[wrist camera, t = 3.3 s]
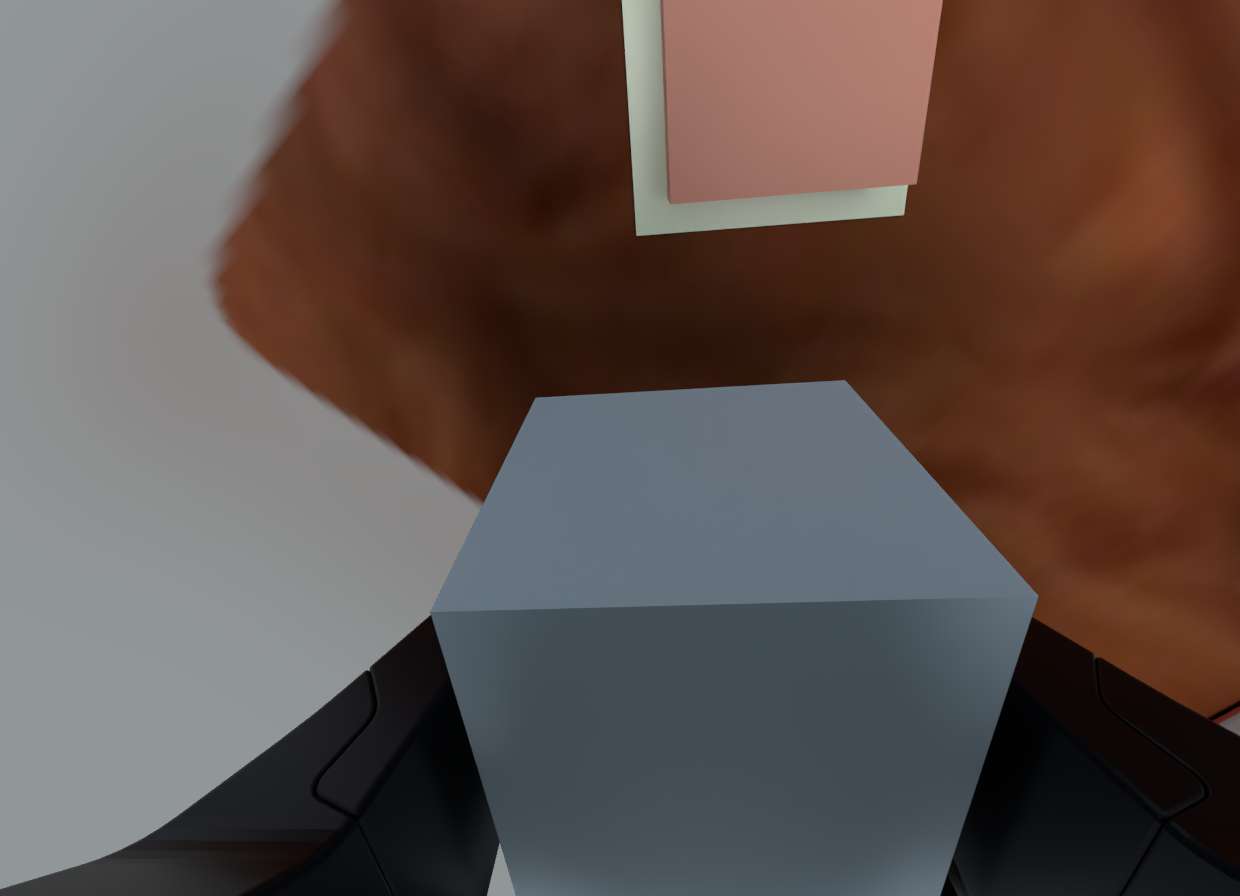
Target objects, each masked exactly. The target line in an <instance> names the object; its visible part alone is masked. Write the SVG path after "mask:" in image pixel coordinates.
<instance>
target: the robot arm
mask: <svg viewBox="0 0 1240 896" xmlns="http://www.w3.org/2000/svg"><path fill="white" fill-rule="evenodd" d="M499 843H500V841H499V838H498V834H497V831H496V828H495V824H494V821H493V818H492V814H491V811H490V808H489V805H488V801H487V798H486V795H485V791H484V788H483V785H482V781H481V778H480V775H479V772H478V768H477V765H476V762H475V758H474V755H473V752H472V748H471V745H470V742H469V739H468V735H467V732H466V729H465V725H464V722H463V719H462V715H461V712H460V709H459V705H458V702H457V699H456V696H455V692H454V689H453V686H452V682H451V679H450V676H449V672H448V669H447V666H446V663H445V659H444V656H443V653H442V649H441V646H440V643H439V639H438V636H437V633H436V630H435V626H434V623H433V620H432V616H431V615H430V616H429V617H428V618H427V619H426V620H424V621H423V622H422V623H421V624H420V625H419V626H417V627H416V628H415V629H414V630H413V631H411V632H410V633H409V634H408V635H407V636H406V637H405V638H403V639H402V640H401V641H400V642H399V643H397V644H396V645H395V646H394V647H393V648H392V649H390V650H389V651H388V652H387V653H386V654H385V655H383V656H382V657H381V658H380V659H379V660H378V661H377V662H375V663H374V664H373V665H372V666H371V667H370V671H368V670H367V671H365V672H363V673H362V674H361V675H360V676H359V677H358V678H356V679H355V680H354V681H353V682H352V683H351V684H349V685H348V686H347V687H346V688H345V689H344V690H342V691H341V692H340V693H339V694H337V695H336V696H335V697H334V698H333V699H332V700H330V701H329V702H328V703H327V704H325V705H324V706H323V707H322V708H321V709H319V710H318V711H317V712H316V713H315V714H313V715H312V716H311V717H310V718H308V719H307V720H305V721H304V722H303V723H302V724H300V725H299V726H298V727H296V728H295V729H294V730H292V731H291V732H290V733H288V734H287V735H286V736H285V737H283V738H282V739H281V740H279V741H278V742H277V743H275V744H274V745H273V746H271V747H270V748H269V749H267V750H266V751H265V752H263V753H262V754H260V755H259V756H258V757H256V758H255V759H254V760H252V761H251V762H250V763H248V764H247V765H246V766H244V767H243V768H242V769H240V770H239V771H238V772H236V773H235V774H233V775H232V776H231V777H229V778H228V779H227V780H225V781H224V782H223V783H221V784H220V785H219V786H217V787H216V788H215V789H213V790H212V791H211V792H209V793H208V794H206V795H205V796H204V797H202V798H201V799H200V800H198V801H197V802H196V803H194V804H193V805H192V806H190V807H189V808H188V809H186V810H185V811H183V812H182V813H181V814H179V815H178V816H177V817H175V818H174V819H172V820H171V821H169V822H168V823H167V824H165V825H164V826H162V827H161V828H159V829H158V830H156V831H154V832H153V833H151V834H149V835H148V836H146V837H145V838H143V839H141V840H139V841H137V842H135V843H134V844H131V845H129V846H127V847H125V848H123V849H121V850H119V851H117V852H115V853H112V854H110V855H108V856H105V857H102V858H100V859H97V860H94V861H91V862H89V863H86V864H82V865H80V866H76V867H73V868H69V869H66V870H63V871H59V872H56V873H53V874H49V875H46V876H43V877H39V878H36V879H33V880H29V881H26V882H23V883H19V884H16V885H13V886H9V887H6V888H3V889H0V896H487V893H488V888H489V884H490V880H491V876H492V872H493V868H494V864H495V859H496V855H497V851H498V847H499ZM940 896H1240V736H1239V735H1238V734H1236V733H1234V732H1232V731H1230V730H1228V729H1226V728H1224V727H1223V726H1221V725H1219V724H1217V723H1215V722H1213V721H1211V720H1210V719H1208V718H1206V717H1204V716H1202V715H1200V714H1198V713H1197V712H1195V711H1193V710H1191V709H1189V708H1187V707H1185V706H1184V705H1182V704H1180V703H1178V702H1176V701H1175V700H1173V699H1171V698H1169V697H1168V696H1166V695H1164V694H1162V693H1161V692H1159V691H1157V690H1156V689H1154V688H1152V687H1150V686H1149V685H1147V684H1145V683H1143V682H1142V681H1140V680H1138V679H1136V678H1135V677H1133V676H1131V675H1129V674H1128V673H1126V672H1124V671H1123V670H1121V669H1119V668H1118V667H1116V666H1114V665H1113V664H1111V663H1109V662H1108V661H1106V660H1104V659H1103V658H1100V657H1098V658H1096V659H1095V655H1094V654H1093V653H1092V652H1090V651H1089V650H1087V649H1085V648H1084V647H1082V646H1080V645H1079V644H1077V643H1075V642H1074V641H1072V640H1070V639H1069V638H1067V637H1065V636H1063V635H1062V634H1060V633H1058V632H1057V631H1055V630H1053V629H1052V628H1050V627H1048V626H1047V625H1045V624H1043V623H1042V622H1040V621H1038V620H1036V619H1035V618H1033V617H1032V618H1031V621H1030V624H1029V627H1028V630H1027V633H1026V636H1025V639H1024V642H1023V645H1022V648H1021V651H1020V654H1019V657H1018V660H1017V663H1016V666H1015V669H1014V672H1013V675H1012V678H1011V681H1010V684H1009V688H1008V691H1007V694H1006V697H1005V700H1004V703H1003V706H1002V709H1001V712H1000V715H999V718H998V721H997V724H996V727H995V730H994V733H993V736H992V739H991V742H990V745H989V748H988V751H987V755H986V758H985V761H984V764H983V767H982V770H981V773H980V776H979V779H978V782H977V785H976V788H975V791H974V794H973V797H972V800H971V803H970V806H969V809H968V812H967V815H966V818H965V821H964V825H963V828H962V831H961V834H960V837H959V840H958V843H957V846H956V849H955V852H954V855H953V858H952V861H951V864H950V867H949V870H948V873H947V876H946V879H945V882H944V885H943V888H942V891H941V895H940Z"/></svg>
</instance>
